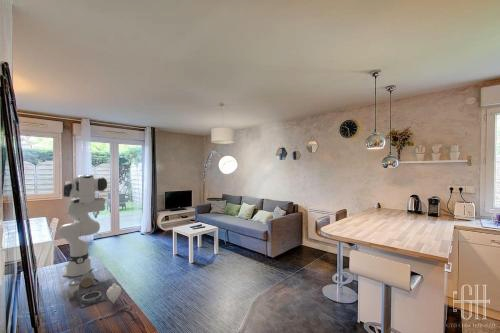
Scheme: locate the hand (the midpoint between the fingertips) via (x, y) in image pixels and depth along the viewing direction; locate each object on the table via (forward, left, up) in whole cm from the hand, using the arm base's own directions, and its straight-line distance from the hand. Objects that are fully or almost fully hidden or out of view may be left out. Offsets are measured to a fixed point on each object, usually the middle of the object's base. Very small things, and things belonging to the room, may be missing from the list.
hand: (87, 218), depth 153 cm
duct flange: (+18, +1, -47) cm, 50 cm away
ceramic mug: (-4, +3, -48) cm, 48 cm away
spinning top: (+31, +10, -48) cm, 57 cm away
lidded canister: (+9, -7, -47) cm, 49 cm away
